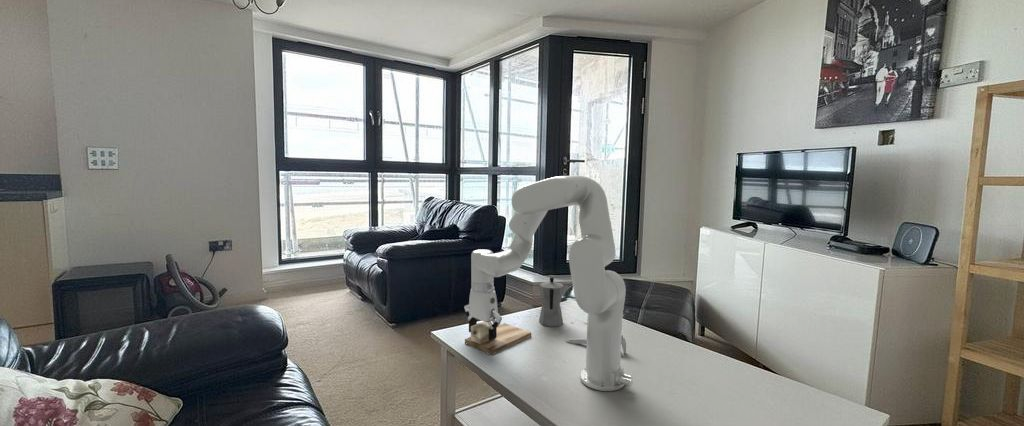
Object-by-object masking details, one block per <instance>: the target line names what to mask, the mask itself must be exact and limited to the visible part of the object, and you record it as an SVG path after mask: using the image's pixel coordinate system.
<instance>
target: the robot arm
mask: <svg viewBox="0 0 1024 426" xmlns="http://www.w3.org/2000/svg"><path fill="white" fill-rule="evenodd" d="M570 206H578V207H579V211H578V224H579V228H580V235H581V236H580V238H578V239H576V240H575V241H574V242H573V243H572V244H571V246H570V248H569V254H568V263H569V264H568V265H569V270H570V271H569V272H570V276H571V284H572V288H573V293H574V299H575V301H576V304H577V306H578V307H579V308H580V310H582V311H583V312H584V313H585V314H587V322H586V323H587V326H586V339H587V344H586V353H585V354H586V355H585V356H586V358H585V359H586V360H585V368H584V369H582V370H581V372H580V374H579V378H580V381H581V382H582V383H583V385H584V386H587V387H588V388H590V389H594V390H597V391H603V392H613V391H617V390H620V389H622V388H623V387H624V386H626V387H629V388H632V386H633V376H632V375H630V374H626V373H625V372H624V370H625V369H624V368H625V367H624V366H621V359H622V357H621V356H622V344H621V335H623V334H622V329H623V316H624V315H623V314H624V307H625V303H626V302H625V301H626V292H627V291H626V290H627V289H626V284H625V280H624V279H623V277H622V276H621V275H620V274H619V273H617V272H616V271H613V270H609V269H607V270H606V269H605V268H606V267H607V266H608V265H610V264H611V263H613V261H614V260H615V257H616V251H617V249H616V245H615V238H614V233H613V228H612V227H613V226H612V222H611V217H610V212H609V211H610V210H609V206H608V199H607V195H606V193H605V190H604V189H603V187H602V186H601V184H599V182H597V181H596V180H594V179H593V178H590V177H587V176H583V175H575V174H574V175H559V176H553V177H550V178H546V179H545V178H544V179H542V180H539V181H535V182H532V183H528V184H524V185H521V186H519V187H517V189H516V190H515V191H514V192H513V194H512V196H511V207H512V209H513V210H514V211H515V212H514V213H513V215H512V217H511V219H510V220H509V222H508V227H509V230H510V231H511V232H512V233H513V234H514V237H513V239H512V241H511V243H510V245H509V247H508V248H507V249H506V250H502V251H500V252H499V251H498V252H495V253H494V252H493V251H492V250H490V249H483V248H482V249H481V248H480V249H479V248H478V249H475V250H473V251H472V252H471V255H470V256H471V257H470V259H471V260H470V261H471V264H470V267H471V269H470V270H471V271H470V272H471V278H470V279H471V281H470V282H471V283H470V285H471V288H470V292H469V298H468V299H469V301H468V304H465V305H464V307H463V308H464V311H465V315H466V317H467V321H468V332H469V333H471V326H473V325H476V324H478V320H479V321H481V322H484V321H485V322H487V323H488V325H489V327H490V328H489V340H493V339H495V338H496V337H497V327H498V326H499V325H501V322H502V321H503V317H502V315H500V313H499V312H498V298H497V294H496V290H495V286H494V283H495V282H494V281H495V279H494V278H500V277H502V276H505V275H508V274H510V273H513V272H517V270H519V269H520V268H521V267H522V266H523V264H524V263H525V261H526V259H527V258H528V257H529V255H530V253H531V250H532V247H533V239H534V238H533V237H534V235H535V234H536V231H537V229H538V228H539V226H540V224H541V223H542V221H543V219H544V218H545V217H546V215H547V213H548V211H550V210H555V209H560V208H565V207H570ZM492 323H493V324H492Z"/></svg>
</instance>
